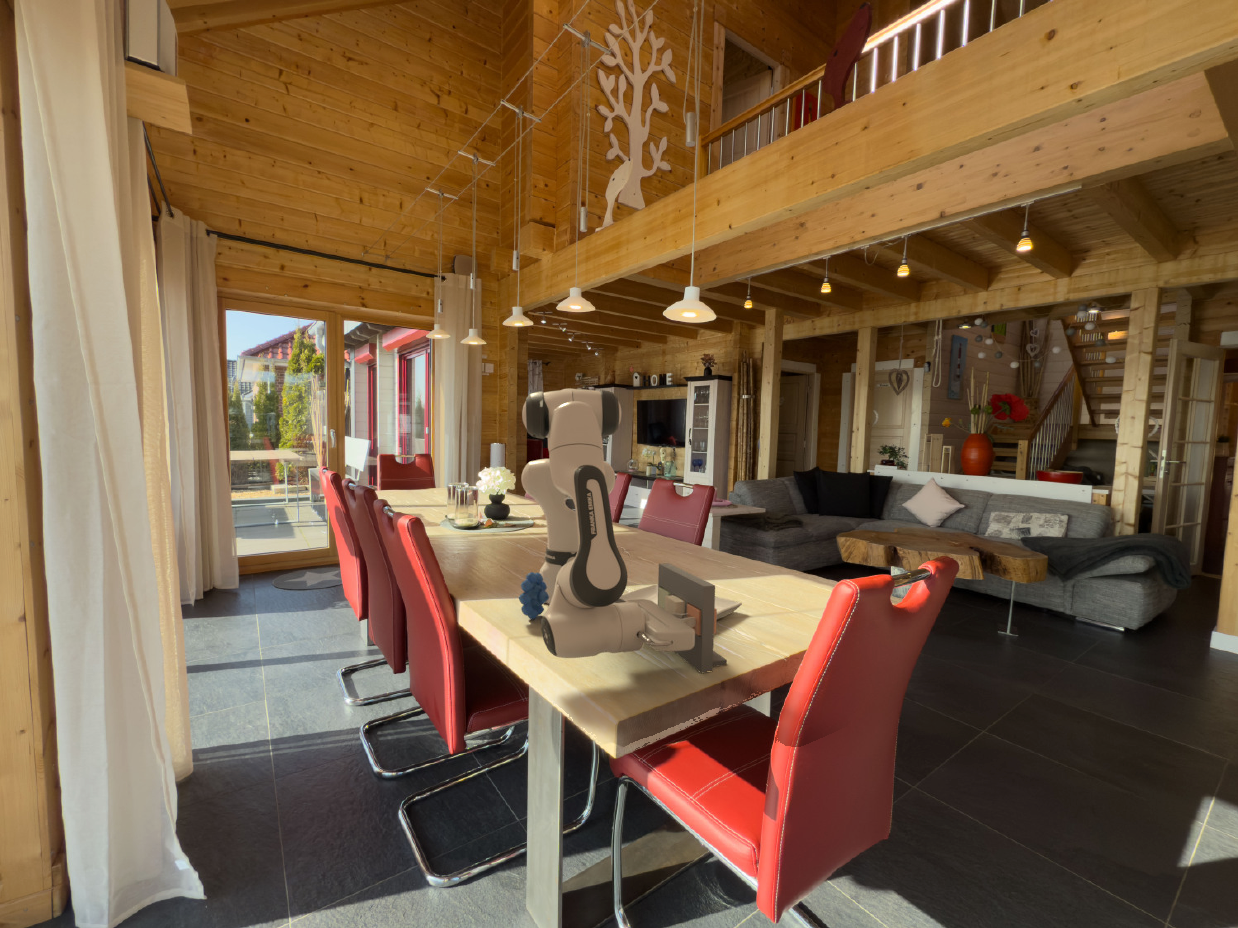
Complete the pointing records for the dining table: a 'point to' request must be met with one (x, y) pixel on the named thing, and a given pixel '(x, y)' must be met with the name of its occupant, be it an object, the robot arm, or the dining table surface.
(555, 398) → the robot arm
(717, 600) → the square plate
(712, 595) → the keyguard
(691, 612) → the key terracotta
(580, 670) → the dining table surface
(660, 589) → the key sage
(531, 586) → the grapes
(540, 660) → the dining table surface
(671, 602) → the key ivory
